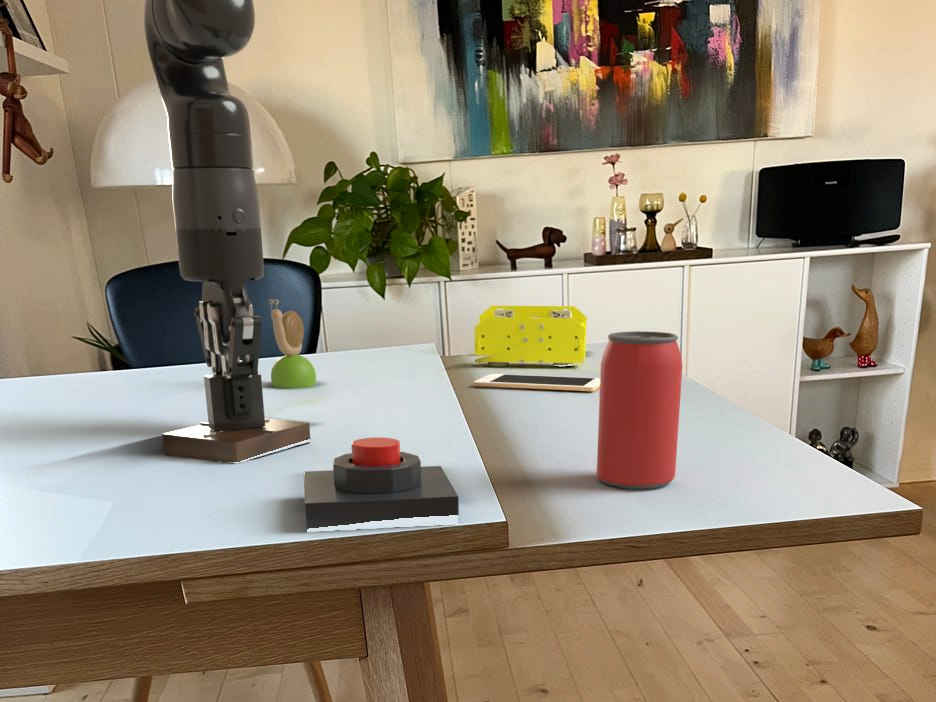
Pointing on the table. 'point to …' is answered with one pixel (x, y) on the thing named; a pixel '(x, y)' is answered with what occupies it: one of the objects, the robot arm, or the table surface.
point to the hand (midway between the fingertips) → (235, 417)
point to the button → (376, 451)
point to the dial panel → (233, 440)
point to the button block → (376, 492)
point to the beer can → (639, 410)
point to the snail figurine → (290, 352)
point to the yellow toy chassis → (531, 335)
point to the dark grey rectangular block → (219, 410)
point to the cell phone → (539, 382)
